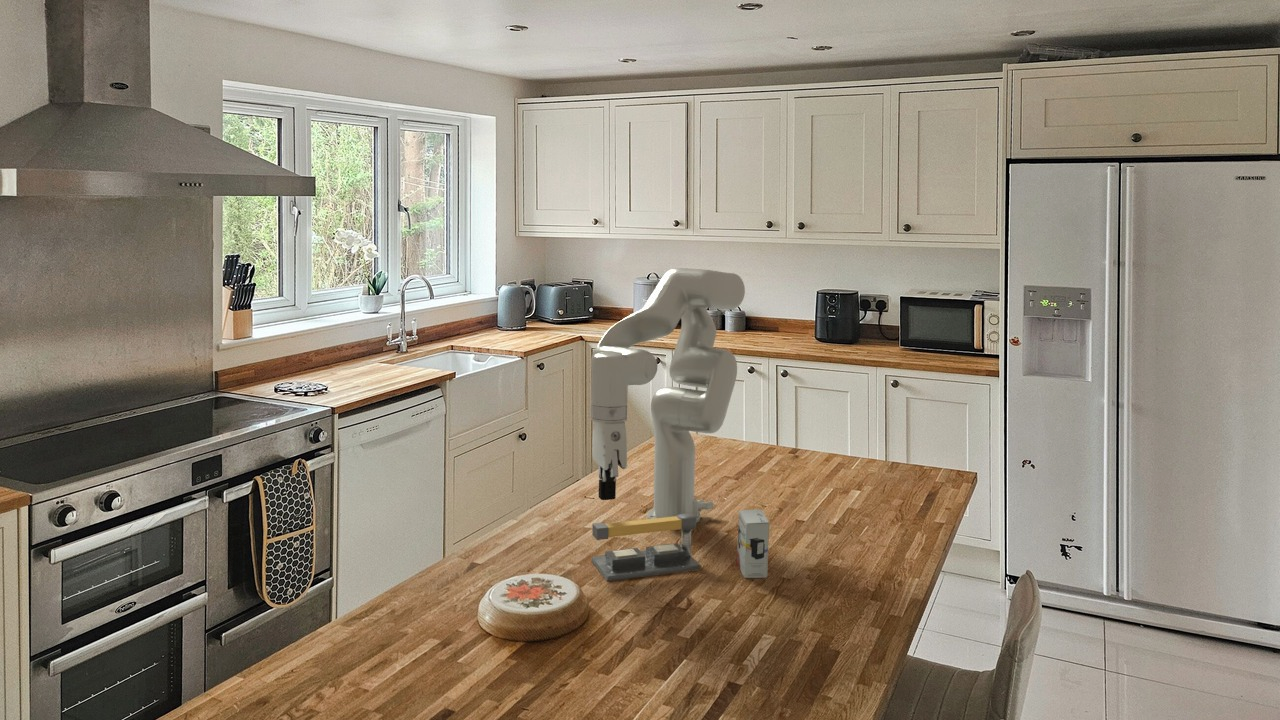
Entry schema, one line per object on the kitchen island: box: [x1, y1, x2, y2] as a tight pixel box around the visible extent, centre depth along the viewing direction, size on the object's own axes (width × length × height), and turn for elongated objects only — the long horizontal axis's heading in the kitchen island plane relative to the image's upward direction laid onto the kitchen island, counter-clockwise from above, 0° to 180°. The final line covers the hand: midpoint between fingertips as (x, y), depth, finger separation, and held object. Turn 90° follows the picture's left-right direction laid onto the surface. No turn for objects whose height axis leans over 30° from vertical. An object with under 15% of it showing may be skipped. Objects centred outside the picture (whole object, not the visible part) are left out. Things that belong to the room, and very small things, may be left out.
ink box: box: [736, 508, 770, 579], centre depth 199 cm, size 9×5×12 cm, turn 5°
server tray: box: [591, 529, 701, 582], centre depth 201 cm, size 20×11×7 cm, turn 109°
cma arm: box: [592, 514, 697, 541], centre depth 200 cm, size 22×4×2 cm, turn 109°
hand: (607, 498), depth 203 cm, fingers closed
